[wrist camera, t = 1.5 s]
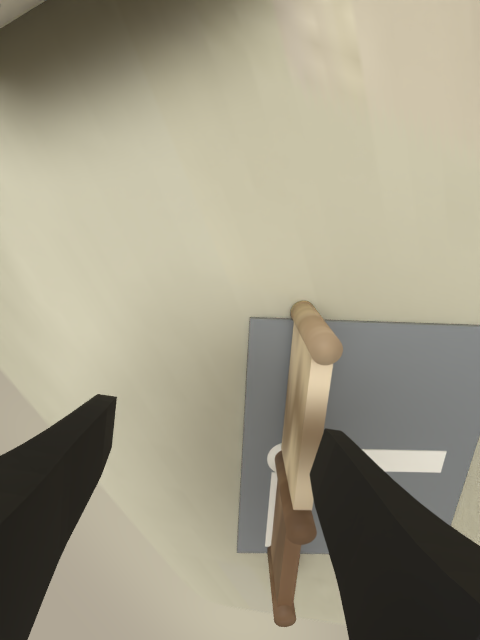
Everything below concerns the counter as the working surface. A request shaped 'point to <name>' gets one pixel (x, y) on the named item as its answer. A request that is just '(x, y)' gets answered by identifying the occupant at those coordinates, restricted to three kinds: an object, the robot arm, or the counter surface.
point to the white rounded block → (15, 9)
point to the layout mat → (368, 412)
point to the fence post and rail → (286, 547)
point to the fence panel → (306, 398)
